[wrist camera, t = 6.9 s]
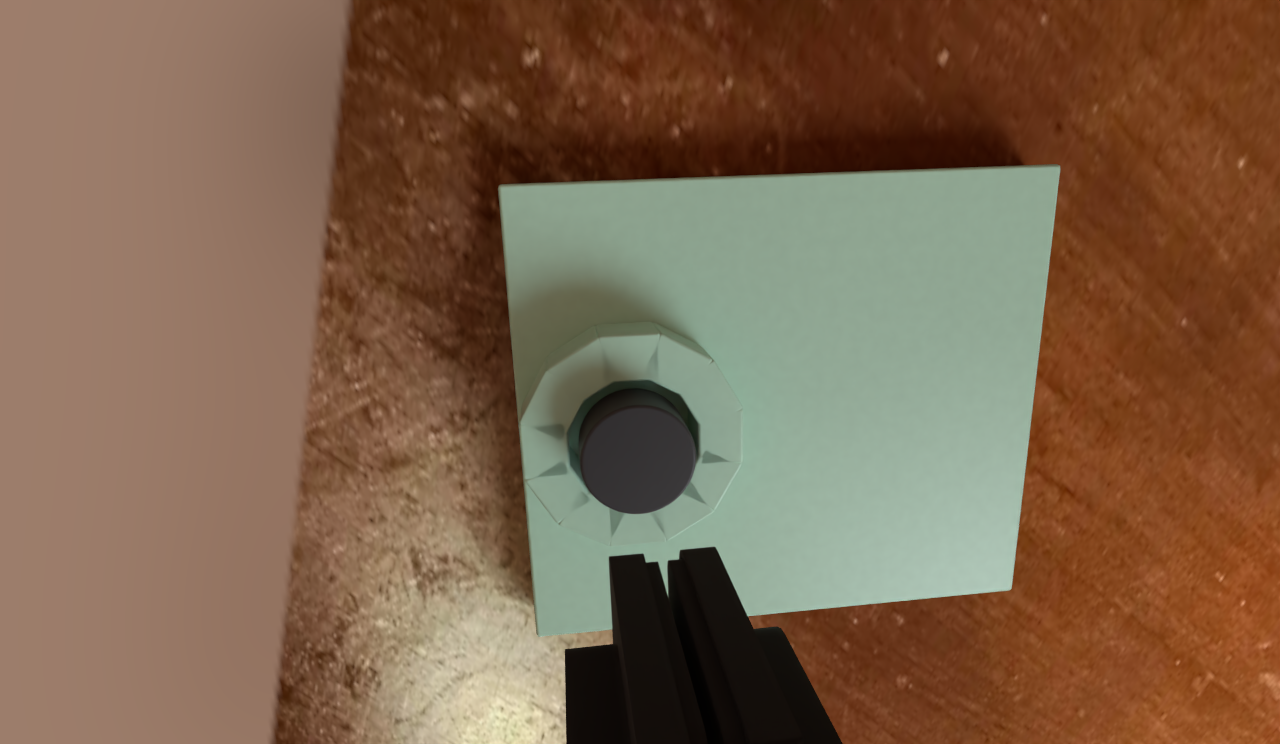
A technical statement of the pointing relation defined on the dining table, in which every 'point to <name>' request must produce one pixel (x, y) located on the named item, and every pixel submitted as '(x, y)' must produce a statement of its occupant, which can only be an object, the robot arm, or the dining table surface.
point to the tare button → (635, 451)
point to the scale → (785, 376)
